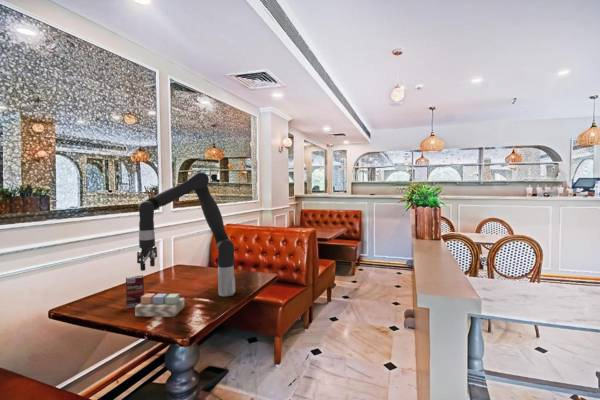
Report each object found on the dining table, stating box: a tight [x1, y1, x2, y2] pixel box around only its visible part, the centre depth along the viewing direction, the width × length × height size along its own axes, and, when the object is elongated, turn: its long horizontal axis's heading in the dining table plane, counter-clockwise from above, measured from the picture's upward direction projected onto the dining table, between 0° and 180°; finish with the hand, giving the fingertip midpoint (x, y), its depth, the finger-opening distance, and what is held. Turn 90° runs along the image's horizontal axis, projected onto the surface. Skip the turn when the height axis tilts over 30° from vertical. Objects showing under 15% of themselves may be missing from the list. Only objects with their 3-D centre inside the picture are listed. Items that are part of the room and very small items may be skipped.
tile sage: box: [165, 293, 180, 305], centre depth 156 cm, size 5×5×4 cm
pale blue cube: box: [153, 293, 168, 304], centre depth 157 cm, size 5×5×4 cm
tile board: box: [134, 297, 185, 318], centre depth 157 cm, size 20×12×5 cm, turn 87°
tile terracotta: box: [141, 293, 156, 304], centre depth 157 cm, size 5×5×4 cm
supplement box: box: [125, 274, 145, 309], centre depth 164 cm, size 9×5×16 cm, turn 121°
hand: (147, 268), depth 160 cm, fingers open, 8 cm apart
